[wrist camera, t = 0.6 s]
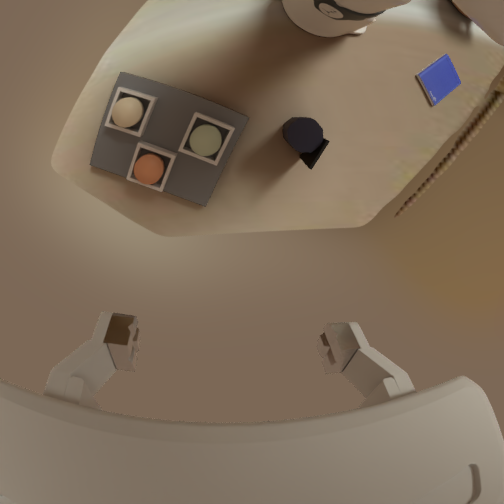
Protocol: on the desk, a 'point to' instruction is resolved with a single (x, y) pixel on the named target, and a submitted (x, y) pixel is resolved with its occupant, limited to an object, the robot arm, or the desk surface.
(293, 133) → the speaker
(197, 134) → the sage button
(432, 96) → the hard drive
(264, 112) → the desk surface
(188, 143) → the button console
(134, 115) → the sand button
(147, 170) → the terracotta button
